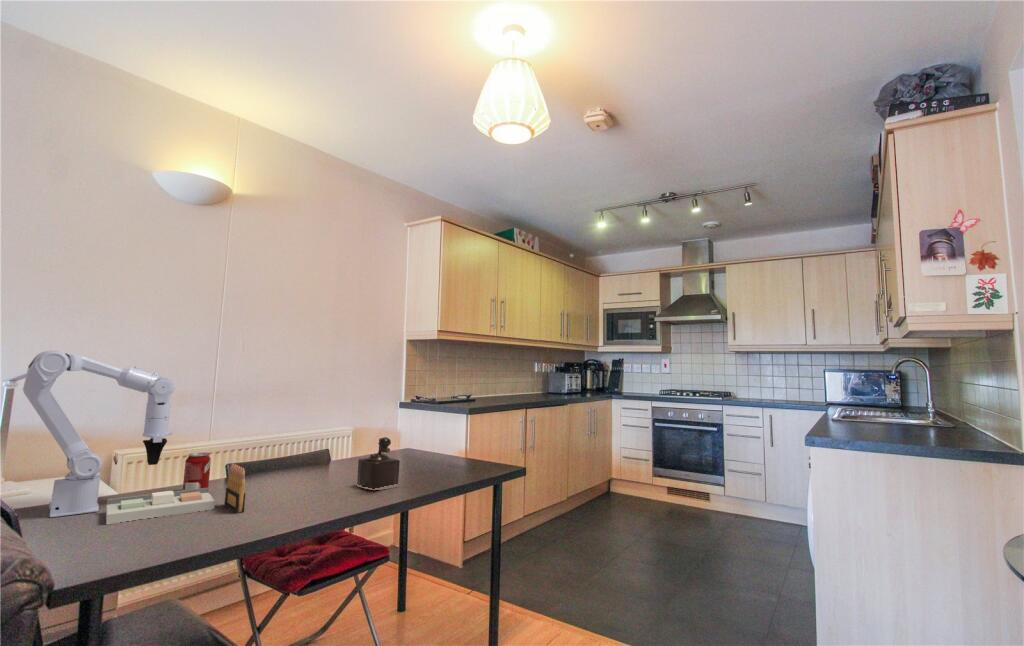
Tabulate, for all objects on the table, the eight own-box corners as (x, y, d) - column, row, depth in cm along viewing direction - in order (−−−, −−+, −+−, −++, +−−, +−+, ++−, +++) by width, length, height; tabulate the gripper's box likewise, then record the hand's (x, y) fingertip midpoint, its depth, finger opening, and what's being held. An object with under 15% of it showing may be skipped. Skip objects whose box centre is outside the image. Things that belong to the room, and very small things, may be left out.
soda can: (198, 496, 145) (202, 456, 146) (176, 495, 145) (180, 455, 146) (212, 490, 152) (216, 452, 153) (192, 489, 152) (195, 451, 153)
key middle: (152, 508, 126) (153, 496, 126) (150, 504, 130) (151, 492, 130) (173, 506, 129) (174, 494, 130) (171, 502, 133) (172, 490, 133)
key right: (181, 509, 130) (182, 497, 131) (178, 505, 134) (180, 493, 134) (200, 506, 133) (201, 494, 134) (198, 502, 137) (199, 491, 137)
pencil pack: (244, 512, 131) (248, 467, 132) (236, 513, 129) (240, 468, 131) (231, 504, 138) (235, 462, 139) (224, 505, 137) (228, 462, 138)
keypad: (106, 524, 117) (108, 509, 118) (105, 513, 126) (107, 499, 127) (214, 509, 132) (215, 496, 133) (206, 499, 141) (208, 487, 142)
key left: (120, 517, 122) (121, 504, 122) (119, 513, 125) (120, 500, 126) (142, 514, 125) (143, 502, 125) (141, 510, 128) (142, 498, 129)
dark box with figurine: (354, 486, 162) (357, 433, 164) (381, 482, 171) (384, 431, 173) (379, 495, 152) (383, 438, 154) (408, 489, 161) (410, 436, 163)
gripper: (176, 419, 138) (172, 467, 137) (170, 415, 149) (166, 459, 148) (146, 420, 134) (141, 469, 132) (142, 416, 144) (138, 461, 143)
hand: (152, 464), depth 140 cm, fingers closed
